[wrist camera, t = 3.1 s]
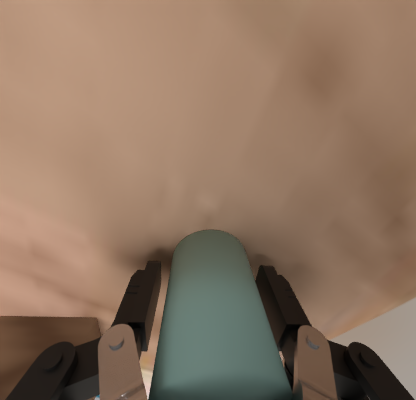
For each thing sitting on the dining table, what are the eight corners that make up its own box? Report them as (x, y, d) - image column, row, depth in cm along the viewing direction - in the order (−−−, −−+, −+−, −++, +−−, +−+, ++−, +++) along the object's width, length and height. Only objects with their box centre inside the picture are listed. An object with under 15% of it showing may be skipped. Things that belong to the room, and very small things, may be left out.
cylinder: (252, 231, 12) (313, 369, 6) (238, 286, 14) (272, 429, 8) (173, 227, 11) (143, 372, 5) (172, 284, 14) (150, 434, 7)
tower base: (97, 316, 15) (40, 434, 10) (107, 361, 18) (69, 469, 13) (2, 315, 14) (-117, 439, 9) (30, 361, 17) (-46, 475, 12)
